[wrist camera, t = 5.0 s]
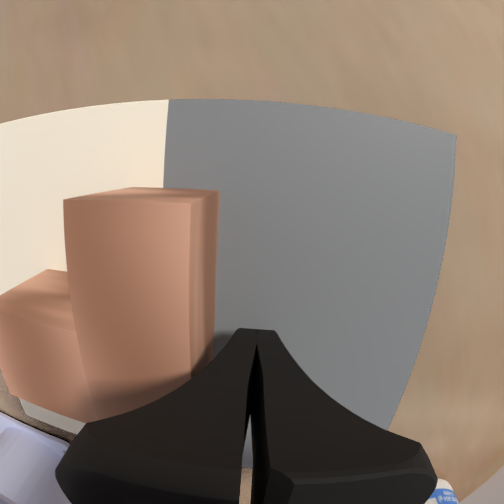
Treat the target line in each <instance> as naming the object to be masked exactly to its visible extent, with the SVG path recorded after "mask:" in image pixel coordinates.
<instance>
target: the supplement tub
mask: <svg viewBox="0 0 504 504" xmlns="http://www.w3.org/2000/svg"><path fill="white" fill-rule="evenodd" d="M425 504H459V503H458V501H457V498H456V496H455V494H454V492H453V490H452V487H451V485H450V484H449V483H448V482H447V481H445V480H443V479H440V478H438V481H437V486H436V488H435V490H434V492H433V493H432V495H431V496H430V498H429V499H428V500H427V501H426V503H425Z"/></svg>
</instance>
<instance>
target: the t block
mask: <svg viewBox="0 0 504 504" xmlns="http://www.w3.org/2000/svg"><path fill="white" fill-rule="evenodd" d="M219 201H220V190H203V189H181V188H151V187H129V188H123V189H117V190H111V191H105V192H100V193H94V194H89V195H83V196H78V197H73V198H68V199H63V217H64V238H65V252H66V264H67V272H66V271H59V270H52V269H46V270H45V271H43V272H41V273H39V274H37V275H35V276H34V277H32V278H30V279H28V280H26V281H24V282H23V283H21V284H19V285H17V286H16V287H14V288H12V289H10V290H9V291H7V292H5V293H3V294H2V295H0V368H1V371H2V374H3V376H4V379H5V382H6V384H7V387H8V389H9V392H10V394H12V395H14V396H16V397H18V398H21V399H23V400H25V401H28V402H30V403H32V404H35V405H37V406H39V407H42V408H44V409H47V410H50V411H52V412H55V413H57V414H60V415H63V416H66V417H69V418H71V419H74V420H77V421H80V422H83V423H88V422H93V421H97V420H101V419H105V418H109V417H113V416H116V415H120V414H123V413H126V412H129V411H132V410H134V409H137V408H140V407H142V406H145V405H147V404H149V403H151V402H154V401H156V400H158V399H160V398H161V397H163V396H165V395H167V394H169V393H170V392H172V391H174V390H175V389H177V388H179V387H180V386H182V385H183V384H184V383H186V382H187V381H189V380H190V379H191V378H193V377H194V376H195V375H196V374H198V373H199V372H200V371H201V370H202V369H203V368H204V367H205V366H206V365H207V364H208V363H210V362H211V361H212V360H213V359H214V324H215V290H216V263H217V240H218V219H219Z"/></svg>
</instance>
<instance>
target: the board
mask: <svg viewBox="0 0 504 504" xmlns="http://www.w3.org/2000/svg"><path fill="white" fill-rule="evenodd" d="M455 158H456V135H455V134H451V133H448V132H445V131H441V130H437V129H434V128H430V127H426V126H422V125H418V124H414V123H410V122H405V121H401V120H396V119H392V118H387V117H382V116H377V115H371V114H366V113H360V112H354V111H348V110H342V109H335V108H328V107H320V106H312V105H303V104H294V103H283V102H270V101H254V100H230V99H177V100H154V101H138V102H126V103H115V104H106V105H97V106H90V107H82V108H75V109H69V110H63V111H57V112H51V113H46V114H41V115H36V116H31V117H27V118H22V119H18V120H14V121H9V122H5V123H1V124H0V295H2V294H3V293H5V292H7V291H9V290H10V289H12V288H14V287H16V286H17V285H19V284H21V283H23V282H24V281H26V280H28V279H30V278H32V277H34V276H35V275H37V274H39V273H41V272H43V271H45V270H46V269H52V270H59V271H66V272H67V264H66V252H65V238H64V217H63V199H68V198H73V197H78V196H83V195H89V194H94V193H100V192H105V191H111V190H117V189H123V188H129V187H151V188H181V189H203V190H220V201H219V219H218V240H217V263H216V290H215V324H214V358H215V357H216V356H217V354H218V353H219V352H220V351H221V350H222V349H223V348H224V346H225V345H226V344H227V343H228V341H229V340H230V339H231V337H232V336H233V334H234V333H235V331H236V330H237V329H238V328H249V329H263V330H275V331H276V332H277V334H278V335H279V337H280V339H281V341H282V342H283V344H284V345H285V347H286V348H287V350H288V351H289V353H290V354H291V356H292V357H293V358H294V360H295V361H296V362H297V364H298V365H299V366H300V367H301V368H302V370H303V371H304V372H305V373H306V374H307V375H308V376H309V378H310V379H311V380H312V381H313V382H314V383H315V384H316V385H317V386H318V387H320V388H321V389H322V390H323V391H324V392H325V393H327V394H328V395H329V396H330V397H331V398H333V399H334V400H335V401H337V402H338V403H339V404H341V405H342V406H344V407H345V408H347V409H348V410H350V411H351V412H353V413H354V414H356V415H358V416H360V417H361V418H363V419H365V420H367V421H368V422H370V423H372V424H374V425H376V426H378V427H380V428H382V429H385V430H388V428H389V426H390V424H391V421H392V419H393V417H394V414H395V412H396V410H397V407H398V405H399V403H400V400H401V398H402V395H403V393H404V390H405V388H406V385H407V383H408V380H409V377H410V375H411V372H412V369H413V366H414V363H415V360H416V358H417V355H418V352H419V349H420V345H421V342H422V339H423V336H424V333H425V329H426V326H427V322H428V319H429V315H430V312H431V308H432V304H433V300H434V296H435V292H436V288H437V284H438V279H439V275H440V270H441V265H442V260H443V255H444V250H445V244H446V238H447V232H448V226H449V219H450V212H451V204H452V195H453V185H454V173H455ZM19 399H20V402H21V404H22V406H23V409H24V411H25V413H26V415H28V416H31V417H33V418H35V419H38V420H40V421H42V422H45V423H47V424H50V425H52V426H55V427H58V428H60V429H63V430H66V431H68V432H71V433H74V434H78V433H79V432H80V430H81V429H82V428H83V427H84V425H85V424H86V423H83V422H80V421H77V420H74V419H71V418H69V417H66V416H63V415H60V414H57V413H55V412H52V411H50V410H47V409H44V408H42V407H39V406H37V405H35V404H32V403H30V402H28V401H25V400H23V399H21V398H19ZM242 468H253V454H252V437H251V419H250V418H249V424H248V429H247V434H246V440H245V445H244V450H243V456H242Z"/></svg>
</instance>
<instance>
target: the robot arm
mask: <svg viewBox="0 0 504 504" xmlns="http://www.w3.org/2000/svg"><path fill="white" fill-rule="evenodd" d="M249 418H250V419H251V437H252V454H253V471H252V489H251V504H425V503H426V501H427V500H428V499H429V498H430V496H431V495H432V493H433V492H434V490H435V488H436V486H437V481H438V478H437V476H436V474H435V471H434V469H433V467H432V464H431V462H430V460H429V457H428V456H427V454H426V452H425V450H424V449H423V447H422V445H421V444H420V443H419V442H416V441H413V440H411V439H408V438H405V437H402V436H400V435H397V434H394V433H392V432H389V431H387V430H385V429H382V428H380V427H378V426H376V425H374V424H372V423H370V422H368V421H367V420H365V419H363V418H361V417H360V416H358V415H356V414H354V413H353V412H351V411H350V410H348V409H347V408H345V407H344V406H342V405H341V404H339V403H338V402H337V401H335V400H334V399H333V398H331V397H330V396H329V395H328V394H327V393H325V392H324V391H323V390H322V389H321V388H320V387H318V386H317V385H316V384H315V383H314V382H313V381H312V380H311V379H310V378H309V376H308V375H307V374H306V373H305V372H304V371H303V370H302V368H301V367H300V366H299V365H298V364H297V362H296V361H295V360H294V358H293V357H292V356H291V354H290V353H289V351H288V350H287V348H286V347H285V345H284V344H283V342H282V341H281V339H280V337H279V335H278V334H277V332H276V331H275V330H263V329H249V328H238V329H237V330H236V331H235V333H234V334H233V336H232V337H231V339H230V340H229V341H228V343H227V344H226V345H225V346H224V348H223V349H222V350H221V351H220V352H219V353H218V354H217V356H216V357H215V358H214V359H213V360H212V361H211V362H210V363H208V364H207V365H206V366H205V367H204V368H203V369H202V370H201V371H200V372H199V373H198V374H196V375H195V376H194V377H193V378H191V379H190V380H189V381H187V382H186V383H184V384H183V385H182V386H180V387H179V388H177V389H175V390H174V391H172V392H170V393H169V394H167V395H165V396H163V397H161V398H160V399H158V400H156V401H154V402H151V403H149V404H147V405H145V406H142V407H140V408H137V409H134V410H132V411H129V412H126V413H123V414H120V415H116V416H113V417H109V418H105V419H101V420H97V421H93V422H88V423H86V424H85V425H84V427H83V428H82V429H81V430H80V432H79V433H78V434H77V435H76V437H75V438H74V440H73V441H72V443H71V444H69V443H68V442H66V441H64V440H62V439H59V438H57V437H54V436H52V435H49V434H47V433H44V432H42V431H40V430H37V429H35V428H33V427H31V426H28V425H26V424H24V423H22V422H20V421H18V420H16V419H14V418H12V417H10V416H8V415H6V414H4V413H2V412H0V504H239V496H240V483H241V470H242V456H243V450H244V445H245V440H246V434H247V429H248V424H249Z"/></svg>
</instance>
